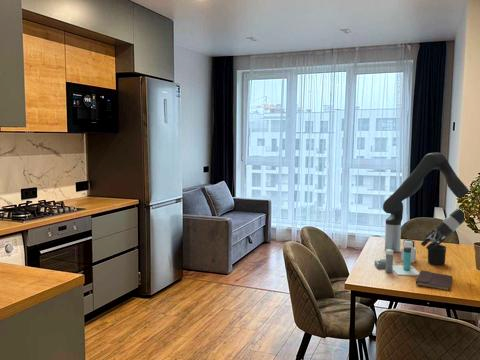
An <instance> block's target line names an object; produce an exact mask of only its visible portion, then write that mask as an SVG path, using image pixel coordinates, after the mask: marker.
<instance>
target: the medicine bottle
mask: <svg viewBox="0 0 480 360" xmlns="http://www.w3.org/2000/svg"><path fill="white" fill-rule="evenodd" d="M402 244H403V245H402V248H400V262H403V259H404V247H410V248H411V264H413V263H415V262H416V260H417V259H416V258H417V248H416V247H415V241H414V240H412V239H404V240H403V243H402Z"/></svg>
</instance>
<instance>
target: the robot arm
mask: <svg viewBox="0 0 480 360" xmlns="http://www.w3.org/2000/svg"><path fill="white" fill-rule="evenodd" d="M433 170H438V171H440V172H441V173H442V174H443V176H444V178H445V182H446V184H447V187H448V189H449V190H450V191H451V192H452V194H453V195H455V197H456V198H457V199H459V198H462V197H464V194H468V192H471V190H469V188H468V187H467V186H466V185H465V183H464V182H463V181H462V180H461V179H460V177H458V175H457V174H456V172H455V171H454V169H453V167H452V165H451V164H450V163H449V161H448V159H447V158H446V157H445V155H444V154H443V153H441V152H430V153H429V152H428V153H427V154H425V155H424V156H423V158H422V159H421V160H420V162H419V163H418V165H417V166H416V167H415V169H413V171H412V172H411V173H410V174H409V175H408V177H406V179H405V180H404V181H403V182H402V183H401V184H400V185H399V187H398V188H397V189H396V190H395V191H394V192H393V193H392V194H391V195H390V196H389V197H388V198H386V199H385V200H384V202H383V204H382V211H383V212H384V213H386V214H390V216H388V217H387V218H386V219H385V232H384V235H385V236H384V250H385V251H386V249H391V250H393V253H401V238H402V235H401V231H402V221H403V215H404V203H403V202H404V200H406V199H408V198H410V197H411V196H413V195H415V194H416V193H417V192H418V191H419V190H420V189H421V188H422V186H423V183H424V178H425V177H426V176H427V175H428V174H429V173H430V172H431V171H433ZM465 221H466V220H465V218H464V213H463V212H462V211H461V210H460V208H456V209H454V210H453V212H451V213H450V214H449V215H448V216H446V217H445V218H444V219H443V220H442V221H440V222H439V223H438V224H437V225H436V226H435V228H436V230H435V229H432V230H431V231H430V232H429V233H427V235H425V239H424V240H422V242H421V243H420V245H421V246H422V247H426V248H425V249H426V250H427V251H428V250H431V249H432V248H433V247H434V246H436V245H437V246H438V245H442V243H443V242H444V241H445V240H446V238H448V237H450V235H451V234H452V233H454V232H455V231H456V230H457V229H458V228H459V227H460V226H461V225H462V224H463V223H464V222H465ZM428 243H429V244H428ZM427 244H428V245H427ZM426 245H427V246H426Z"/></svg>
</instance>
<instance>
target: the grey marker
mask: <svg viewBox="0 0 480 360" xmlns="http://www.w3.org/2000/svg"><path fill="white" fill-rule="evenodd" d="M385 259H386V269H384V270H385V273H386V274H393V272H394V271H393V266H394V252H393V250H391V249H386V250H385Z"/></svg>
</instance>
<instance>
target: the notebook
mask: <svg viewBox="0 0 480 360" xmlns="http://www.w3.org/2000/svg"><path fill="white" fill-rule="evenodd" d="M419 273H420V274H419V276H417V278H416V280H415V285H417V286H421V287H427V288H433V289H438V290H443V291H448V292H449V291H451V288H452V281H453V275H449V274H444V273H438V272H431V271H429V270H423V269H420V271H419Z"/></svg>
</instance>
